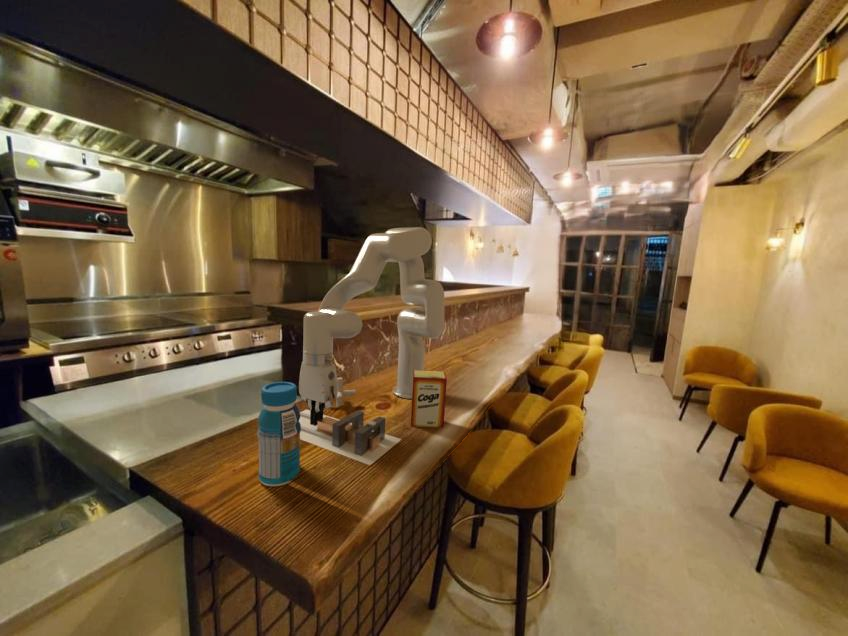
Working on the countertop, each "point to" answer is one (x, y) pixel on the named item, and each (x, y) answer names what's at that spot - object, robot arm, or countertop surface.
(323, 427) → the bar
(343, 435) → the rear collar
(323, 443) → the white rail board
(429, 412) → the baking soda box
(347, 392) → the pipe connector
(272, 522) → the countertop surface
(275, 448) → the beverage bottle
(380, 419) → the front collar
